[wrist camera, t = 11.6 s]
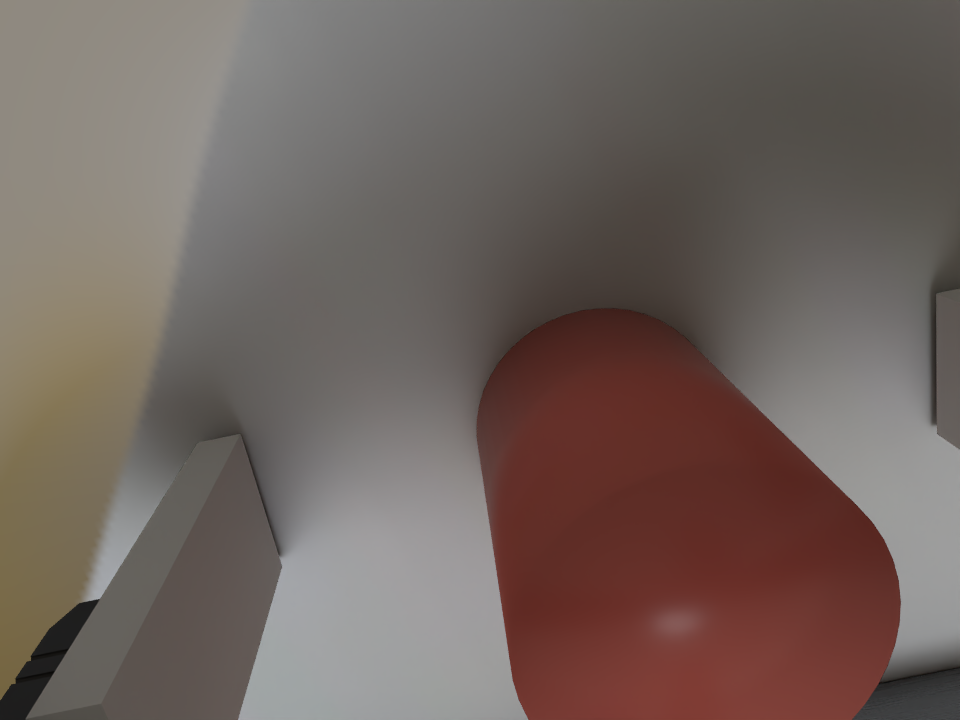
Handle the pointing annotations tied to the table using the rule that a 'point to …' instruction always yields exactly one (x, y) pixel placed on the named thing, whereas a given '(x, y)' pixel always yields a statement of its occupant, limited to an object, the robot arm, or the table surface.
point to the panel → (915, 698)
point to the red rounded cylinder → (670, 539)
